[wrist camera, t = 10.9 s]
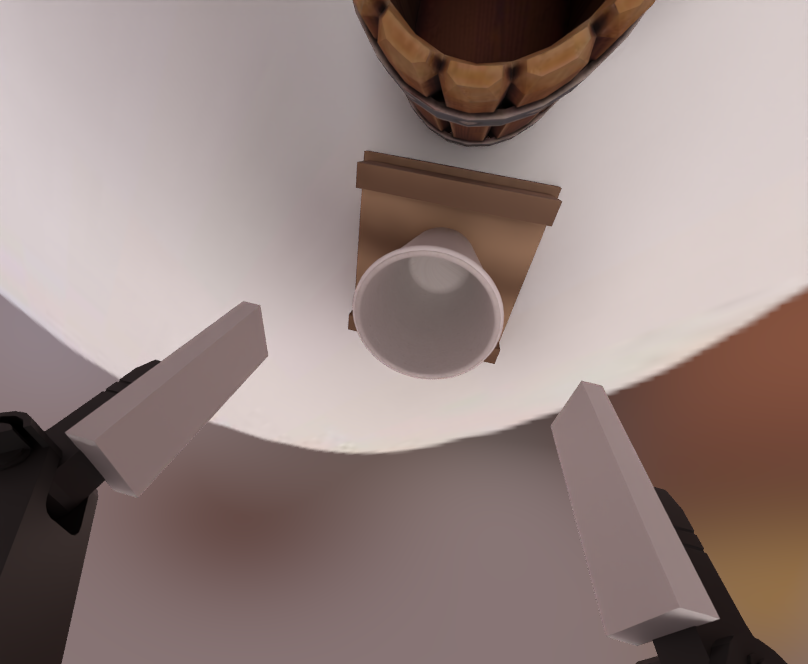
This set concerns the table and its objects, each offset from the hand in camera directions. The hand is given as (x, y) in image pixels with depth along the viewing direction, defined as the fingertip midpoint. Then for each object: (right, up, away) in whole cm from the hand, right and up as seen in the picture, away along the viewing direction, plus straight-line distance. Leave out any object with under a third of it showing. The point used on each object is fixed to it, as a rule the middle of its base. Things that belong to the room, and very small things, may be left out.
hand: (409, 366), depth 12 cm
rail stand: (+3, +7, +13) cm, 15 cm away
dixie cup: (+3, +7, +12) cm, 15 cm away
